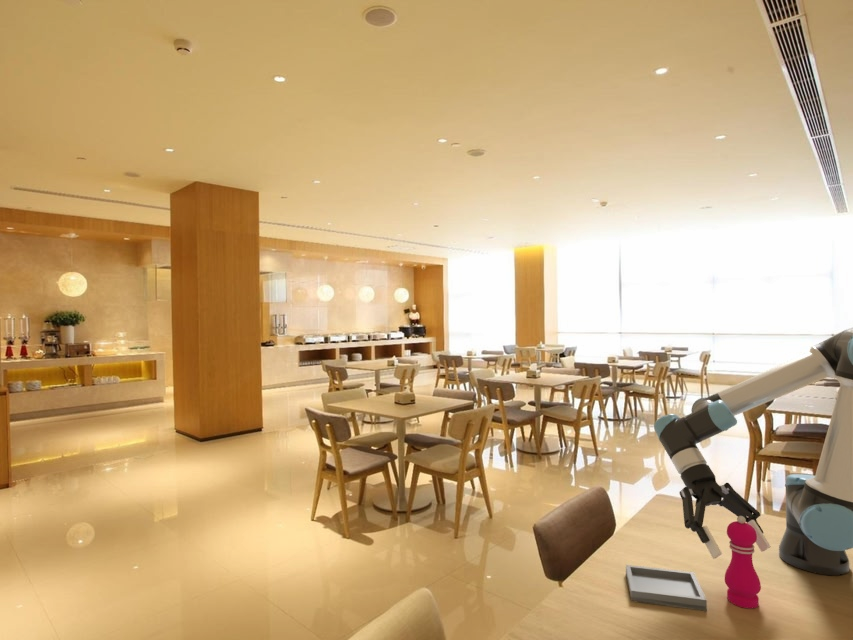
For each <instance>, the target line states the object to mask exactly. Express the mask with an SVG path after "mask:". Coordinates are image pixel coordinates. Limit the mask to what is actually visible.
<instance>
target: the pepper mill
mask: <svg viewBox="0 0 853 640" xmlns="http://www.w3.org/2000/svg"><path fill="white" fill-rule="evenodd" d="M726 535H727V537H728V539H729V546H728V547H729V549H730V550H731V560H730V563H729V565H728V567H727V569H726V570H725V574H724V583H725V585H726V586H727V587H728V588H727V591H726V595H727V596H726V597H727V599H728V601H729V602H730V603H731V604H733V605H735V606H737V607H740V608H743V609H744V608H745V609H756V608H758V607H759V603H760V602H759V600H760V599H759V596H758V594H759V593H760V592H761V590H762V586H761V585H762V584H761V580H760V578H759V576H758V573H757V571H756V569H755V567H754V563H753V554H754V553H755V543H756V540H757V534H756V531H755V529H754V528H753V527H752V526H751V525H749V524H748V523H747V522H746V519H745V518H744V517H743V516H737V517H736V521H731V522H730V523H729V524H728V525H727V528H726Z"/></svg>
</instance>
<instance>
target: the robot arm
mask: <svg viewBox="0 0 853 640" xmlns="http://www.w3.org/2000/svg"><path fill="white" fill-rule="evenodd" d="M826 378H831V379H833V380H834V379H836V380H837V382H839V390H838V392H837V396H836V399H835V403H834V407H833V411H832V415H831V418H830V422H829V424H828V429H827V432H826V435H825V439H824V443H823V446H822V450H821V454H820V456H819V461H818V465H817V467H816V472H815V475H813V474H801V473H793V474H792V473H791V474H788V475H787V476H786V478H785V483H784V487H785V522H786V523H785V524H786V525H785V526H786V527H785V530H784V533H783V535H782V538H781V541H780V543H779V545H778V546H779V547H778V555H779V558H780V559H781V560H782V561H784V562H785V563H787V564H789V565H791V566H792V567H794V568H797V569H799V570H802V571H805V572H809V573H814V574H818V575H826V576H841V575H840V574H843V575H846V574H848V573H849V572H850V560H849V556H848V555H847V551H848V550H851V549H853V327H850V328H846V329H844V330H843V331H841V332H838V333H836V334H835V335H833V336H831V337H829V338H827V339H825V340H823V341H821V342H819V343H816V344H815V345H812V346H811V347H810V350H809V352H807V353H803V354H802V355H799V356H797V357H795V358H793V359H791V360H789V361H786V362H783V363H781V364H779V365H777V366H775V367H772V368H770V369H769V370H766V371H764V372H761V373H759V374H757V375H754V376H752V377H750V378H747V379H745V380H743V381H741V382H739V383H736V384H734V385H732V386H730V387H728V388H725V389H723V390H720V391H718V392H716V393H714V394H712V395H709V396H707V397H699V398H698V399H696V400H695V401H694V403H693V404H692V406H691V413H689V414H687V415H685V416H683V417H682V416H681V417H679V415H677V414H676V413H668V414H665V415H663V416H661V417H659V418H658V419H656V421H655V422H654V424H653V429H654V431H655V433H656V435H657V437H658V440H659V442H660V443H661V445H662V447H663V448H664V450H665V451H666V454H667V455H668V457H669V459H670V461H671V463H672V464H673V466H674V467H675V470H676V472H677V473H678V474H679V475H680V479H681V480H682V482H683V484H684V487H683V488H681V490H680V491H679V493H678V494H679V495H680V497H681V498H680V499H681V500H682V513H683V523H684V527H685V528H686V529H688V530H689V529H690V530H691V531H692V532H694V533H696V534H697V536H698V538H699V539H700V541H701V543H702V544H704V545H705V546H706V548H707V550H708V553H709V554H710V555H711V558H712V559H714V560H715V559H717V558H718V557H720V556H721V555H723V553H722V551H721V549H720V547H719V545H718V544H717V542H716V540H715V538H714V536H713V535H712V533H711V531H710V529H709V528H708V526H707V525H704V520H705V519H704V517H705V514H706V513H705V512H706V507H709V506H717V505H718V506H719V507H723V508H725V509H726V510H728V511H729V512H731V513H732V514H734V515H735V516H737V517H738V516H743V517H744V518H745V519H746V522H745V523H748V524H749V525H751V526H752V527H753V528H754V529H755V531H756V534H757V540H756V542H755V543H756V545H757V547H758V548H759V550H760V552H766V551H767V550H768V549H771V548H772V546H771V544H770V542H769V541H768V539H767V538H766V537H765V535H764V531H763V528H762V527H761V526H760V524H759V523H758V521H757V519H758V518H760V517H761V512H760V511H758V510H757V509H756V508H755V507H754V506H753V505H751V504H750V503H749V502H748V501H747V500H746V499H745V498H743V497H742V496H741V495H740V494H739V493H738V492H737V491H736V490H735V489H734V488H733V486H732V485H731V483H729V482H725V483H724V484H722V485H720V484H718V482H717V480H716V475H715V473H714V472H713V470H712V469H711V467H710V465H709V464H707V460H706V458H705V457H704V456H703V454H702V453H701V451H700V449H699V447H698V446H697V444H700V443H701V442H703V441H706V440H708V439H710V438H712V437H714V436H716V435H719V434H721V433H723V432H727V431H728V430H729V429H731V428H732V427H734V426H736V425H737V423H738V420H737V418H736V416H737V415H740V414H742V413H746V412H747V411H749V410H752V409H755V408H756V407H759V406H761V405H764V404H766V403H769V402H771V401H773V400H776V399H778V398H781V397H784V396H785V395H788V394H790V393H793V392H795V391H797V390H800V389H802V388H804V387H807V386H810V385H811V384H814V383H817V382H819V381H822V380H824V379H826ZM693 498H694V499H695V504H694V505H693ZM694 506H695V510H694ZM845 573H846V574H845Z"/></svg>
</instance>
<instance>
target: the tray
mask: <svg viewBox="0 0 853 640" xmlns="http://www.w3.org/2000/svg"><path fill="white" fill-rule="evenodd" d="M696 576H697V575H696V573H695V572H694V571H693V572H692V571H686V570H685V571H684V570H676V569H667V568H657V567H649V566H641V565H632V564H625V577H626V580H627V581H626V582H627V585H628V586H627V587H628V592H629V597H630V601H631V602H634V601H637V602H636V603H641V604H643V603H644V604H650V605H658V606H664V607H665V606H666V607H674V608H679V609H681V608H682V609H687V610H688V609H689V610H695V611H696V610H697V611H704V612H705V611H706V612H707V611H708V610H707V609H708V605H707V602H708V600H707V598H706V596H705V593H704V591H703V589H702V586H701V585H700V583H699V580H698V579H697V577H696Z"/></svg>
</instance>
